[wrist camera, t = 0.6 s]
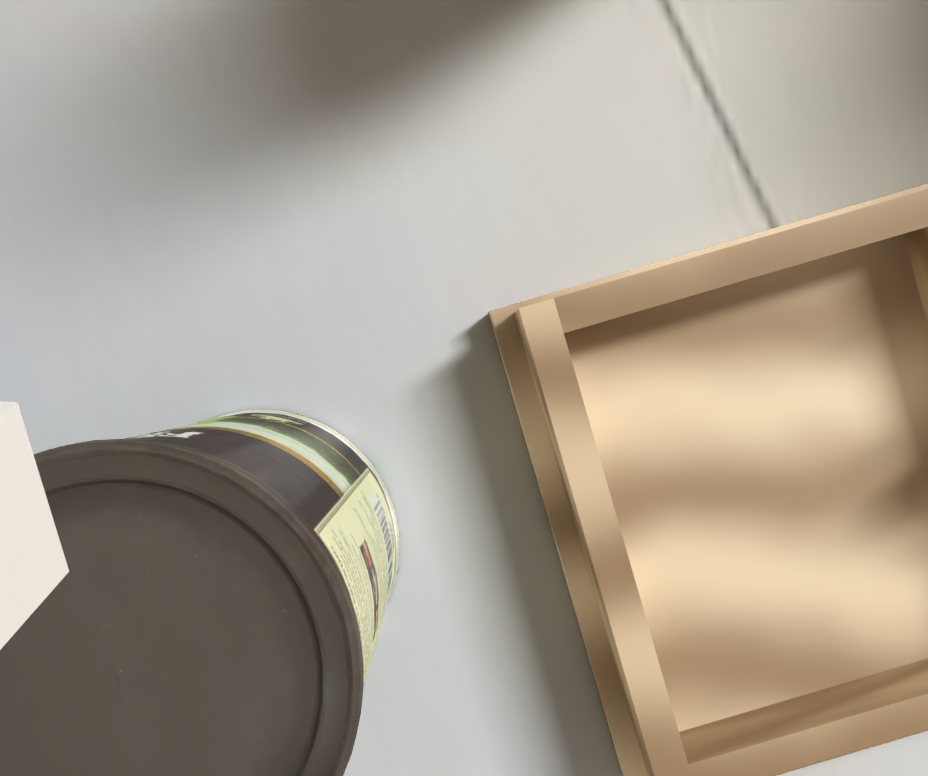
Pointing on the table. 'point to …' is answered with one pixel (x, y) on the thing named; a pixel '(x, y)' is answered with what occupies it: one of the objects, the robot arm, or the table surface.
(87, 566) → the coffee can
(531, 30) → the table surface
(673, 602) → the rack
